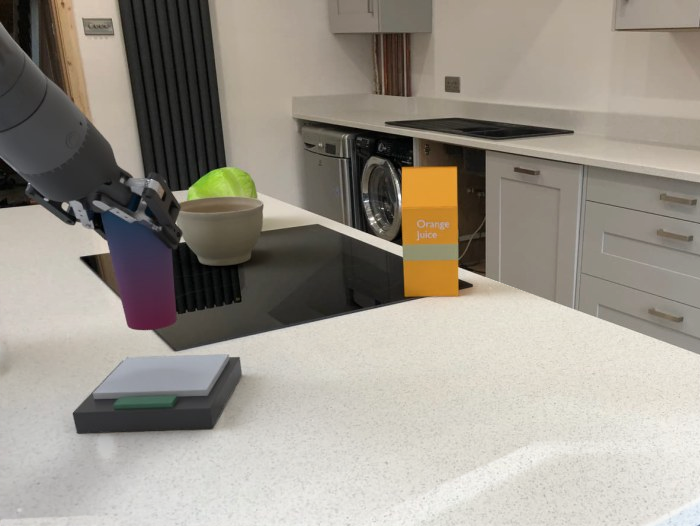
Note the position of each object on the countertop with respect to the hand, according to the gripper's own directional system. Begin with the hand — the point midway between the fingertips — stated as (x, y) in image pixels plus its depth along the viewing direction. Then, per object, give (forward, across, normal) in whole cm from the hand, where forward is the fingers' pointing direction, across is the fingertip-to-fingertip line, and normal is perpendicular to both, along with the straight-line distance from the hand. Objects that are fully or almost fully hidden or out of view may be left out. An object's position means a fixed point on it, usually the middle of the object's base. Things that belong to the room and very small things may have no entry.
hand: (147, 240), depth 78 cm
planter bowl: (+53, +24, -27) cm, 64 cm away
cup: (+5, 0, +7) cm, 9 cm away
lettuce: (+71, +37, -45) cm, 91 cm away
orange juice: (+45, -20, -19) cm, 52 cm away
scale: (+12, 0, +14) cm, 18 cm away
